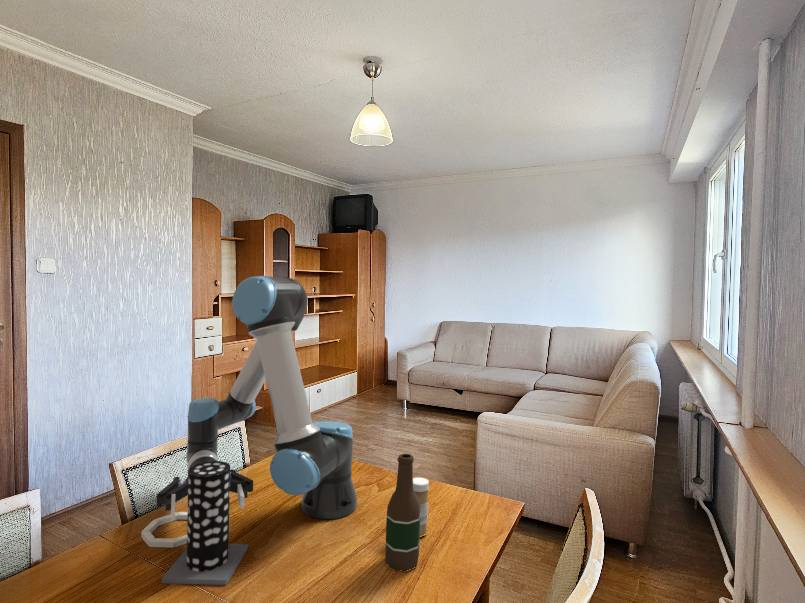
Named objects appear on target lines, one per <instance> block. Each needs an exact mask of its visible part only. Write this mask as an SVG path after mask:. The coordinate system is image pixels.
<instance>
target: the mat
mask: <svg viewBox="0 0 805 603" xmlns="http://www.w3.org/2000/svg"><path fill="white" fill-rule="evenodd" d="M248 549H249V544H248V543H229V552H228V559H227V561H226V562H225V563H224V564H223V565H222V566H220V567H218V568H216V569H213V570H209V571H203V572H198V571H193V570H190V569H189V568H188V567H187V547H186V548H185V550H183V552H182V553H181V555H180V556H179V557H178V558H177V559H176V560H175V562H174V563H173V565H172V566H171V567H170V568H169V569H168V571H167V572H166V573H165V574H164V575H163V576H162V578H161V583H162V584H175V585H176V584H178V585H183V584H184V585H211V586H212V585H216V586H217V585H218V586H219V585H220V586H227V585H228V583H229V581H230V580H231V578H232V577H233V575H234V573H235V571H236V570H237V568H238V566H239V565H240V563H241V561H242V559H243V557H244V556H245V554H246V552H247V551H248Z"/></svg>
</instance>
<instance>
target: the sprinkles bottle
mask: <svg viewBox="0 0 805 603" xmlns="http://www.w3.org/2000/svg"><path fill="white" fill-rule="evenodd" d="M429 483H430V481H429V480H428V479H427V478H424V477H413V487H414V492H415V493H416V495H417V496H418V498H419V502H420V508H421V517H420V536H422V535H424V534H426V532H427V533H428V531H427V530H428V528H427V526H428V513H429V510H428V508H429V500H428V497H429V495H428V494H429V490H430V489H429V488H430V484H429Z"/></svg>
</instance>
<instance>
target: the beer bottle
mask: <svg viewBox="0 0 805 603" xmlns="http://www.w3.org/2000/svg"><path fill="white" fill-rule="evenodd" d="M396 460H397V462H398V465H397V476H396V487H395V489H394V492H393V493H392V494H391V497H390V499H389V501H388V504H387V510H386V522H385V524H386V525H385V527H386V528H385V553H384V554H385V555H384V558H385V559H384V560H385V565H387V564H388V565H389V566H390V567H391V568H392V570H393V569H394V570H393V571H395V570H402V571H401V572H403V571H407V570H409V569H412V568H414V567H416V566H417V567H418V563H419V559H418V558H419V557H420V545H421V544H420V542H421V540H420V517H421V508H420V502H419V498H418V496H417V495H416V493H415V492H414V487H413V478H414V474H413V473H414V472H413V470H414V469H413V463H414V461H415V459H414V455H412V454H409V453H401V454H399V455H398V457H397V459H396ZM388 565H387V566H388ZM389 566H388V567H389ZM390 567H389V568H390ZM417 567H416V568H417ZM391 568H390V569H391ZM414 569H415V568H414ZM412 570H413V569H412ZM409 571H410V570H409ZM407 572H408V571H407Z"/></svg>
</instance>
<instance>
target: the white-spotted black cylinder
mask: <svg viewBox="0 0 805 603" xmlns="http://www.w3.org/2000/svg"><path fill="white" fill-rule="evenodd" d="M230 470H231V464H229V463H228V462H226V461H221V460H220V461H219V460H218V461H209V462H203V463H199V464H196V465H194V466H192V467H191V468H190V469H189V470H188V469H187V477H188V495H187V512H188V517H187V524H186V525H187V526H186V530H187V533H186V535H187V543H186V548H187V567H188V568H189V569H190V570H193V571H198V572H203V571H209V570H213V569H216V568H218V567H220V566H222V565H223V564H224V563H225V562H226V561H227V559H228V552H229V544H230V540H229V539H230V504H231V502H230V498H231V491H230Z"/></svg>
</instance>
